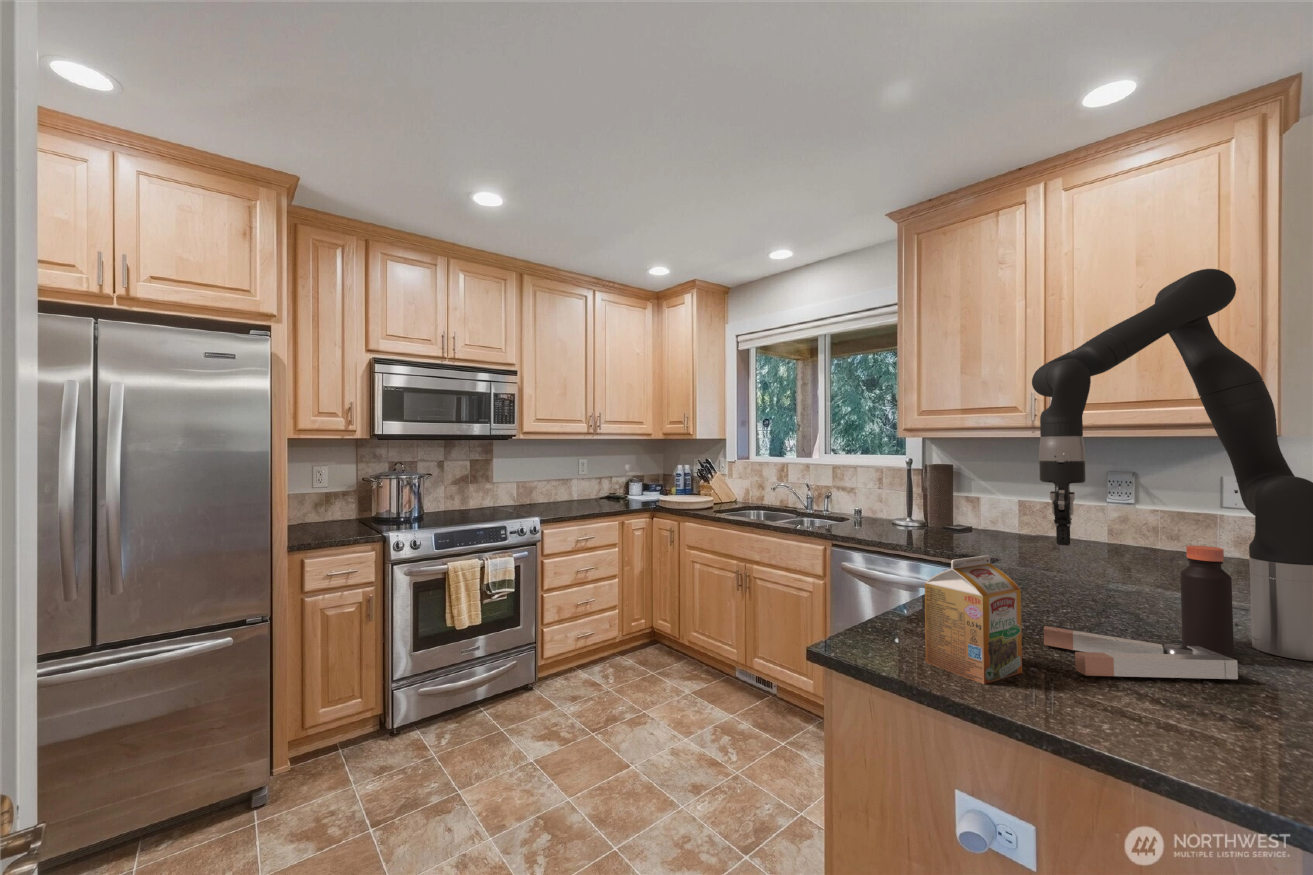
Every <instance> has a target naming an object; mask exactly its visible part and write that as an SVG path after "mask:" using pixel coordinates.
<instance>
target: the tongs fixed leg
mask: <svg viewBox="0 0 1313 875" xmlns="http://www.w3.org/2000/svg"><path fill="white" fill-rule="evenodd" d="M1187 647H1188V648H1191V649H1192V650H1193V655H1189V654H1164V653H1163V654H1143V653H1097V652H1083V651H1075V652H1074V662H1075V664H1074V666H1075V671H1077V672H1079V673H1080V674H1082V675H1084V676H1085V677H1086V676H1091V677H1093V676H1094V677H1131V678H1134V677H1135V678H1136V677H1137V678H1167V679H1168V678H1171V679H1175V678H1176V679H1177V678H1179V679H1209V680H1210V679H1214V680H1215V679H1219V680H1238V679H1239V674H1238V673H1239V671H1238V670H1239V668H1238V660H1237V659H1235V658H1234V659H1232V658H1229V657H1226V656H1224V655H1221V654H1218V653H1216V652H1213V651H1210V650H1208V649H1205V648H1202V647H1200V646H1187Z"/></svg>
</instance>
